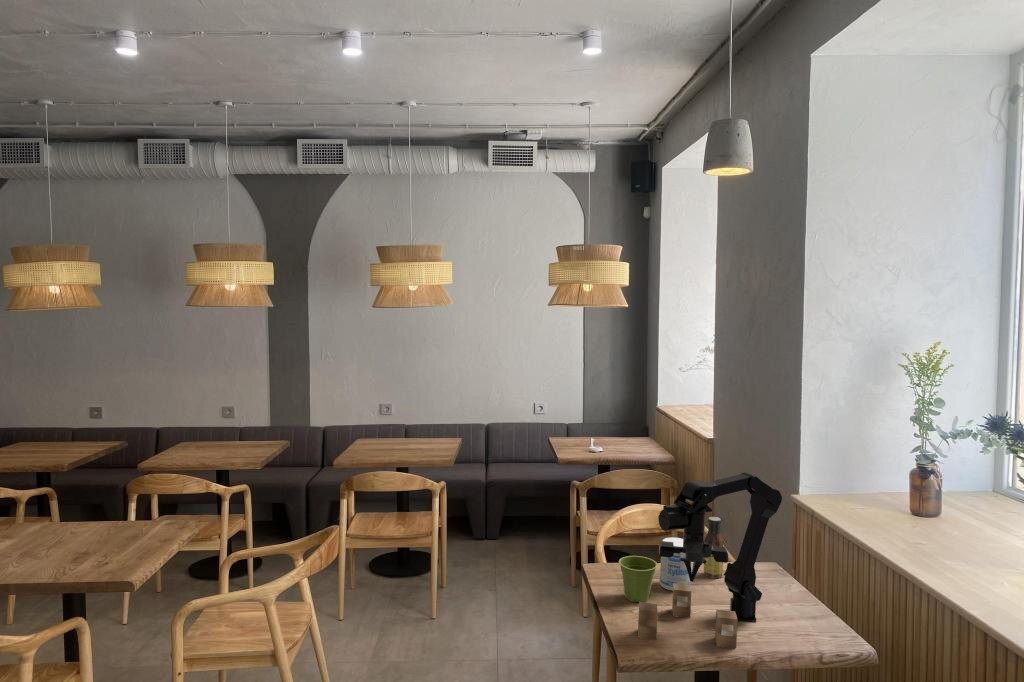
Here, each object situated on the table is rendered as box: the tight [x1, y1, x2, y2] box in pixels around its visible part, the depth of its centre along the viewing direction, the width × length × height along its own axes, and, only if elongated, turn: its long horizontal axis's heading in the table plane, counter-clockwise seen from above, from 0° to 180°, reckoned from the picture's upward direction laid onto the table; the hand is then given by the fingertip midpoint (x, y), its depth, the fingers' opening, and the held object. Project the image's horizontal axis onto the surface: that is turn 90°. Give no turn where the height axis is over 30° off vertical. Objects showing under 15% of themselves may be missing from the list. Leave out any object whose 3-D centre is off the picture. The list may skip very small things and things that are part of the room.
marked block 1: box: [671, 583, 692, 618], centre depth 214 cm, size 5×5×8 cm
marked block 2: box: [714, 609, 738, 649], centre depth 197 cm, size 5×5×8 cm
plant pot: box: [618, 555, 658, 603], centre depth 224 cm, size 12×12×11 cm
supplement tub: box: [659, 537, 691, 592], centre depth 234 cm, size 10×10×15 cm
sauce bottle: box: [703, 516, 725, 579], centre depth 243 cm, size 6×6×20 cm
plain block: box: [637, 602, 658, 641], centre depth 201 cm, size 5×5×8 cm
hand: (691, 581), depth 206 cm, fingers closed
